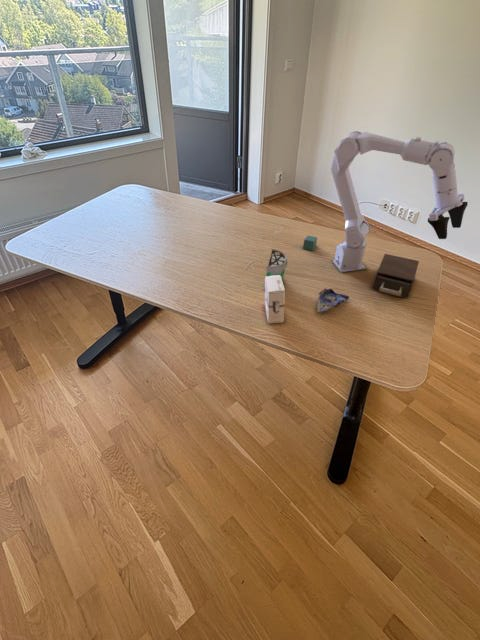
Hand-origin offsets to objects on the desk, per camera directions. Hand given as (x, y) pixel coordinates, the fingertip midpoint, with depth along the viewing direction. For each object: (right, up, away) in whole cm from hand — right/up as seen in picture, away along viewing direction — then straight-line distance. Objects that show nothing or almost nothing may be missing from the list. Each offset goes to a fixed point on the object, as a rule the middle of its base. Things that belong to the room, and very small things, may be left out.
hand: (449, 232), depth 105 cm
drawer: (-13, -16, +10) cm, 23 cm away
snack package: (-35, -22, +5) cm, 42 cm away
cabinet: (-11, -14, +14) cm, 22 cm away
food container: (-51, -14, +14) cm, 55 cm away
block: (-36, +2, +33) cm, 49 cm away
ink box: (-54, -25, +2) cm, 59 cm away
